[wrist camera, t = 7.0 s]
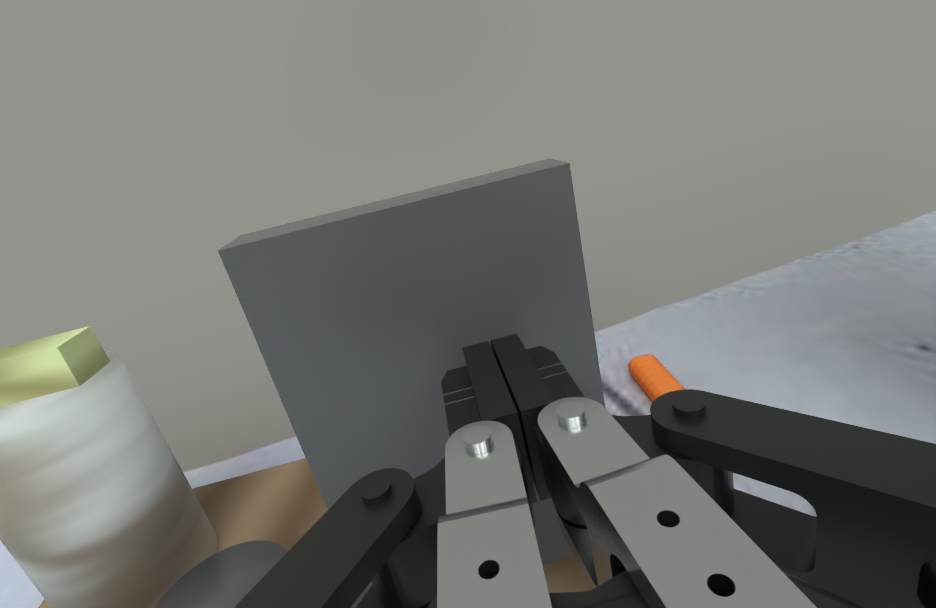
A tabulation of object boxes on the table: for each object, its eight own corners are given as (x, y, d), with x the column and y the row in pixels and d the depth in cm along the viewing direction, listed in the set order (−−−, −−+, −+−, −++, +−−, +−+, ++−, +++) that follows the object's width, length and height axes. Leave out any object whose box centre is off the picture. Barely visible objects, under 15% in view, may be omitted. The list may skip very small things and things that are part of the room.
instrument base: (530, 428, 29) (481, 203, 24) (662, 742, 14) (606, 326, 10) (128, 536, 28) (-5, 326, 24) (-176, 992, 13) (-710, 672, 9)
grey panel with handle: (592, 495, 21) (535, 155, 16) (648, 603, 16) (591, 167, 11) (202, 603, 20) (13, 284, 15) (142, 748, 15) (-162, 356, 10)
